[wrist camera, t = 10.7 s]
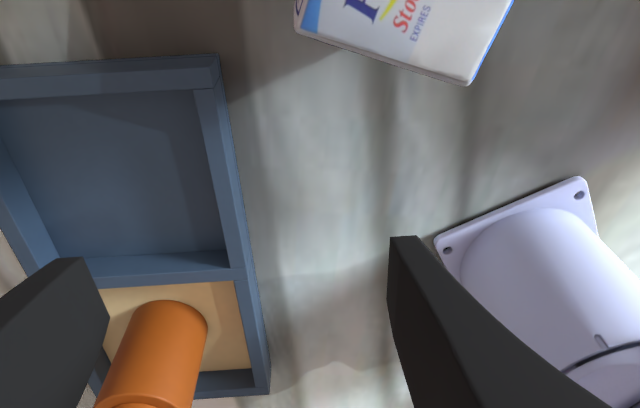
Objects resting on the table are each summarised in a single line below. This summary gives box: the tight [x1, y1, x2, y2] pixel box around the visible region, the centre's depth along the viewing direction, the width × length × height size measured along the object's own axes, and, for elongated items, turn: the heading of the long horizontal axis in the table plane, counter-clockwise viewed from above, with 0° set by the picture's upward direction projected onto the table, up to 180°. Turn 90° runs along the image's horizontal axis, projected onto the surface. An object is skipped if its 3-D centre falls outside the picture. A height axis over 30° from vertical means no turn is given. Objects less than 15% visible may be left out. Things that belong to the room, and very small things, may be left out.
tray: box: [0, 53, 271, 400], centre depth 22 cm, size 20×11×2 cm, turn 3°
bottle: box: [93, 300, 208, 408], centre depth 22 cm, size 4×4×8 cm
